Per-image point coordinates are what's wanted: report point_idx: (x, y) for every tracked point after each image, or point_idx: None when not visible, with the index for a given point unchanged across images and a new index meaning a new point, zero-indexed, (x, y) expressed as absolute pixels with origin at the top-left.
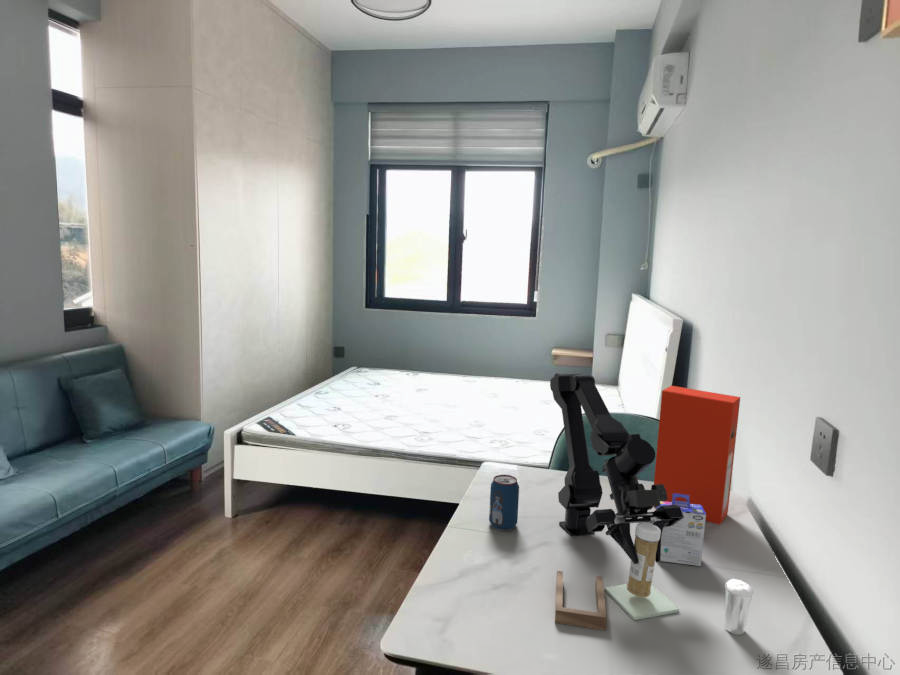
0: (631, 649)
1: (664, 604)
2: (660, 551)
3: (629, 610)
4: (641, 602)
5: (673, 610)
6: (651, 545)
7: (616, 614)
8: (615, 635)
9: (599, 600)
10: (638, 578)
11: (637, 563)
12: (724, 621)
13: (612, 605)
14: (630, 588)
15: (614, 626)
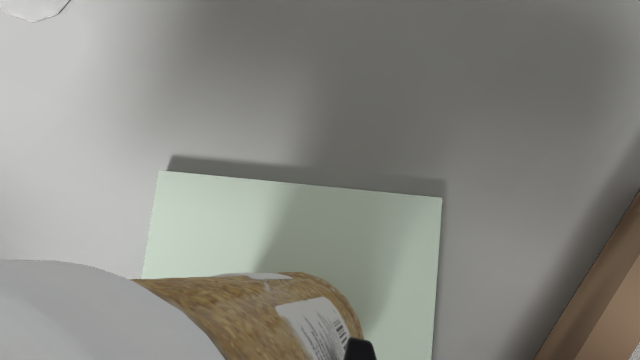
0: (598, 30)
1: (201, 229)
2: None
3: (427, 256)
4: None
5: (194, 174)
6: (157, 289)
7: (497, 277)
8: (612, 137)
9: (632, 337)
10: (338, 312)
11: (339, 357)
12: (44, 5)
13: (466, 355)
14: None
15: (573, 197)
